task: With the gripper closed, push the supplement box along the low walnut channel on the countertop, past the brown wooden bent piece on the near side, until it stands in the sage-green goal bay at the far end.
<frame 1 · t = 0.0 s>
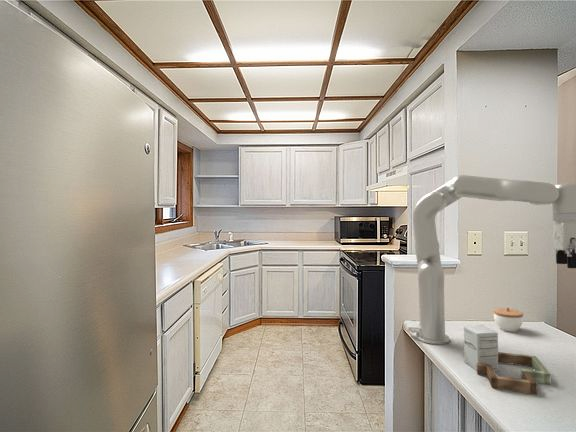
hand: (567, 265, 118), 31 cm above the countertop, tool pointing down, fingers open, 9 cm apart
brown wooden bent piece: (510, 384, 98), on the countertop
supplement box: (481, 367, 110), on the countertop
lidded jar: (508, 329, 142), on the countertop
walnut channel: (505, 369, 107), on the countertop
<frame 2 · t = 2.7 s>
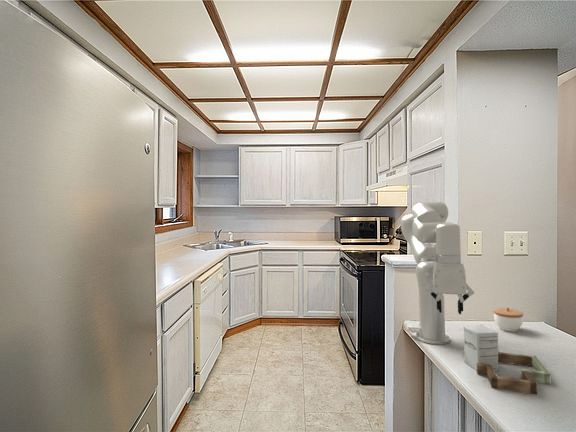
hand: (449, 311, 113), 17 cm above the countertop, tool pointing down, fingers open, 5 cm apart
nothing on the countertop moved.
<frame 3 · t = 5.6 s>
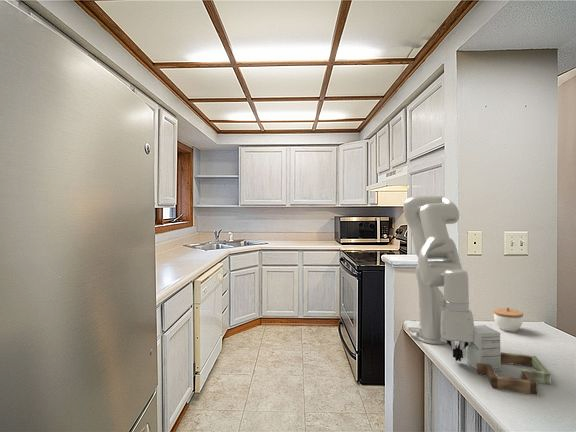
hand: (457, 359, 112), 1 cm above the countertop, tool pointing down, fingers closed
supplement box: (483, 367, 109), on the countertop, touching gripper
everything else where it was.
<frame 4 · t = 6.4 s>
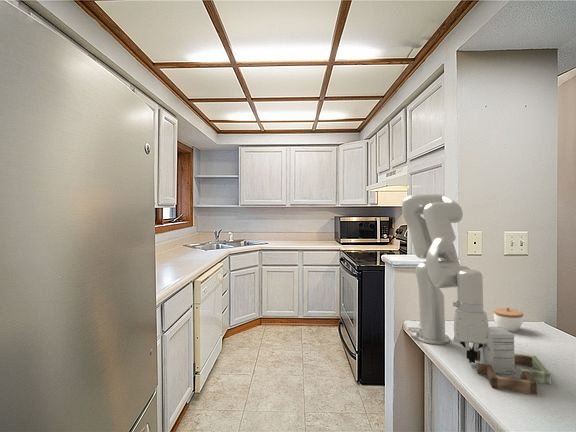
hand: (471, 361, 110), 1 cm above the countertop, tool pointing down, fingers closed
supplement box: (497, 369, 108), on the countertop, touching gripper
everything else where it was.
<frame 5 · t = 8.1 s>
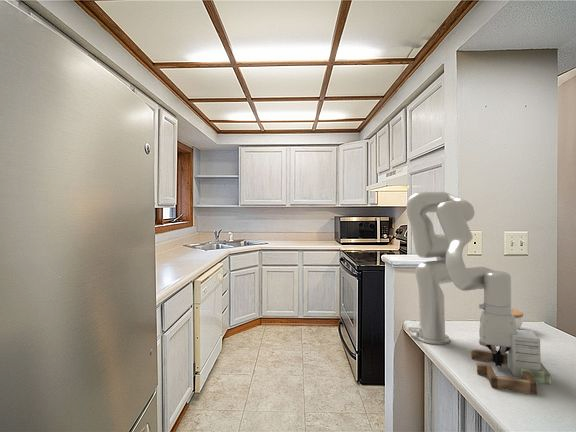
hand: (497, 364, 108), 1 cm above the countertop, tool pointing down, fingers closed
supplement box: (523, 373, 105), on the countertop, touching gripper, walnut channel
everything else where it was.
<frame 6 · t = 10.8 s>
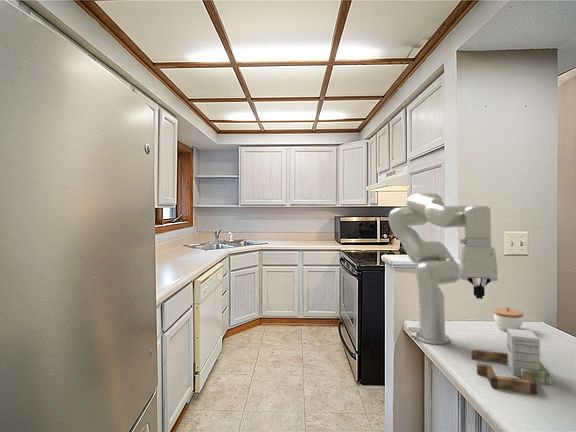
hand: (479, 297, 110), 23 cm above the countertop, tool pointing down, fingers closed
supplement box: (523, 373, 105), on the countertop
everything else where it was.
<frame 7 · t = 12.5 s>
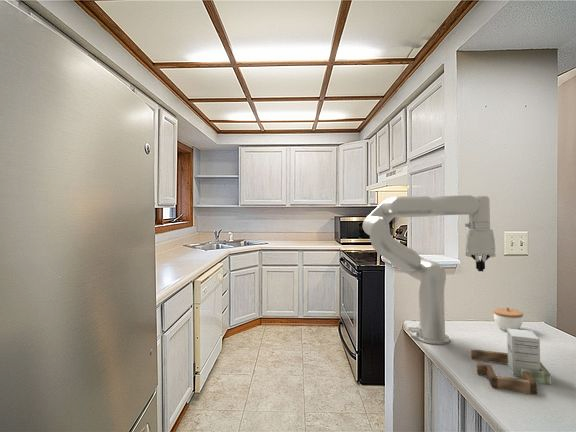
hand: (480, 270, 135), 27 cm above the countertop, tool pointing down, fingers closed
nothing on the countertop moved.
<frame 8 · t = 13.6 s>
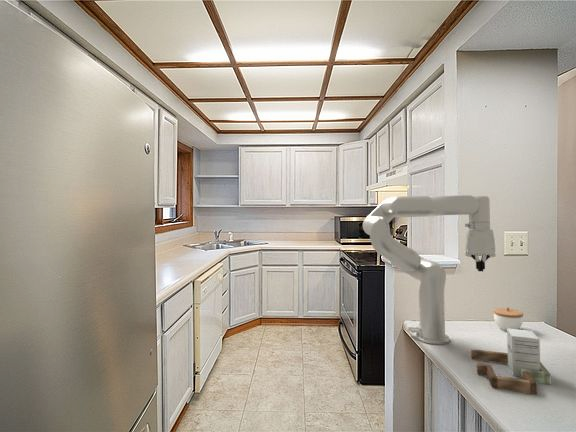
hand: (480, 270, 135), 27 cm above the countertop, tool pointing down, fingers closed
nothing on the countertop moved.
at the end: supplement box inside the target area (0.5 cm from its centre), on the countertop; supplement box tilted 0°; supplement box moved 11.8 cm from its start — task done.
